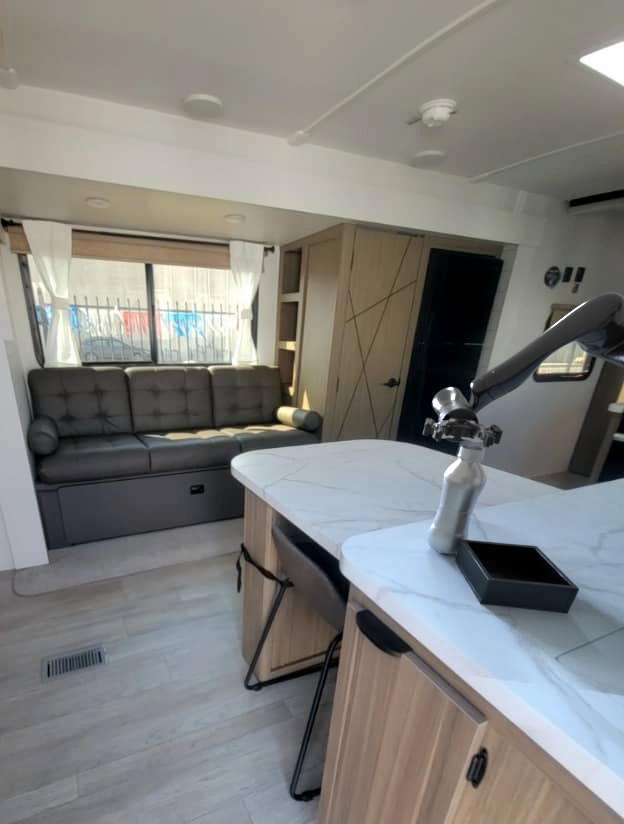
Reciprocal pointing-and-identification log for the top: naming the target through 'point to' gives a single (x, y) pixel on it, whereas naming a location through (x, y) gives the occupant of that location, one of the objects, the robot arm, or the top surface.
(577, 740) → the top surface
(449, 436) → the robot arm
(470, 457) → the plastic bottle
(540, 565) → the dark square tray
